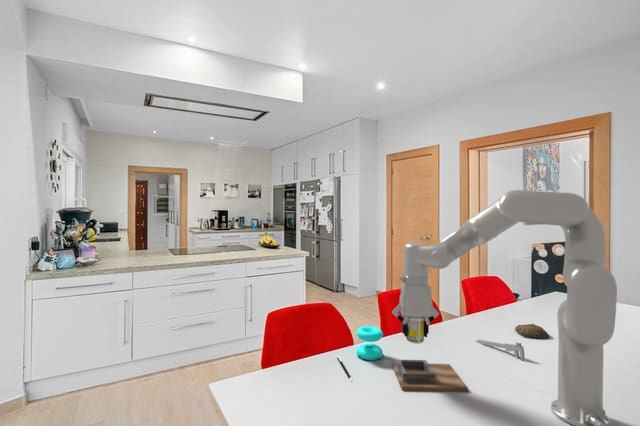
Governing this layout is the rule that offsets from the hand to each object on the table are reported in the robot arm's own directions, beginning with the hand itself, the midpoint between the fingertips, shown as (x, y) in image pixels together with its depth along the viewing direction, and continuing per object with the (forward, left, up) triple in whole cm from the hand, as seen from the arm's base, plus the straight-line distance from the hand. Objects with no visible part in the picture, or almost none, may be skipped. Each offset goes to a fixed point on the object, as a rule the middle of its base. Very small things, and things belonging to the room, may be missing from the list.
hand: (415, 335), depth 111 cm
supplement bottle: (0, 0, -2) cm, 2 cm away
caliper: (+24, -39, -15) cm, 48 cm away
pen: (+6, +23, -15) cm, 28 cm away
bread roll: (+42, -63, -15) cm, 77 cm away
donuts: (+16, +13, -14) cm, 25 cm away
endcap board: (0, -4, -14) cm, 15 cm away
